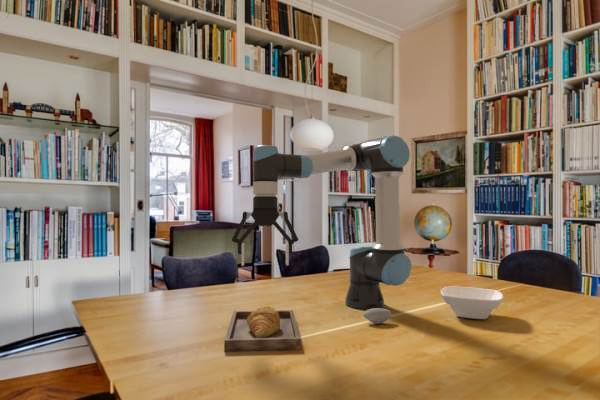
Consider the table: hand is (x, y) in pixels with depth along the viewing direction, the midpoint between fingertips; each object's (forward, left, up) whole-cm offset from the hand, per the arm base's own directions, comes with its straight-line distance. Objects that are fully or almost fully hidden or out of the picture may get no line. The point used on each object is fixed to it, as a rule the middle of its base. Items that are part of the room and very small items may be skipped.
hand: (265, 264), depth 121 cm
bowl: (-74, -13, -21) cm, 78 cm away
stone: (-38, -7, -21) cm, 44 cm away
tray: (0, +1, -21) cm, 21 cm away
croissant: (0, +1, -20) cm, 20 cm away
